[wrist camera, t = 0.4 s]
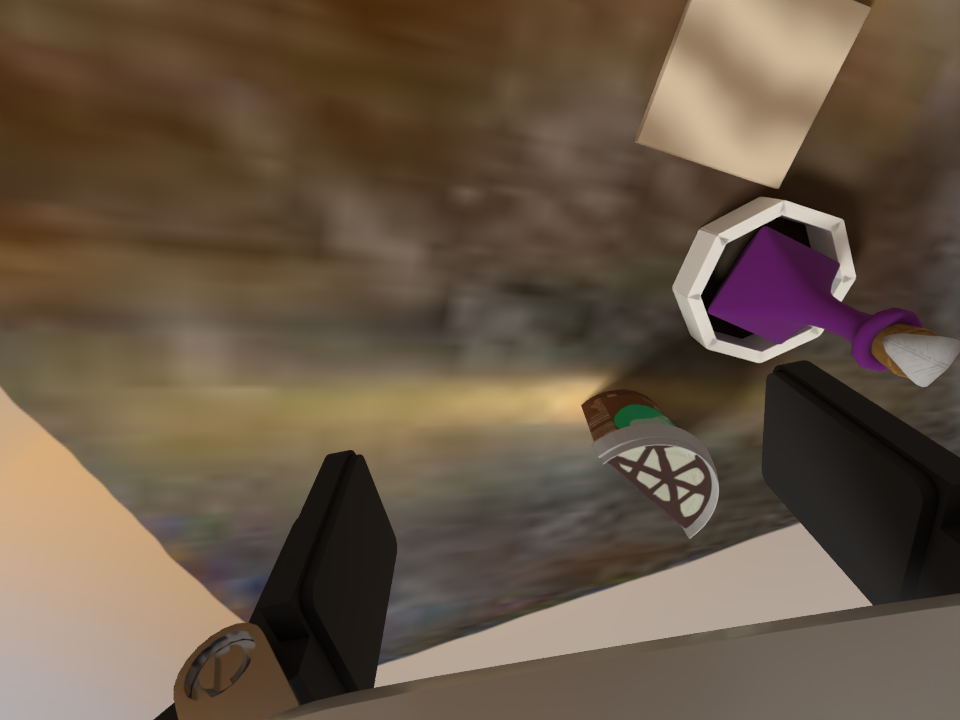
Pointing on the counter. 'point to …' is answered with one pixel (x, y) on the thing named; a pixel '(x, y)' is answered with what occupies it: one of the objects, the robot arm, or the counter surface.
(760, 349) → the holder ring
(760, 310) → the perfume bottle
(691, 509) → the food container
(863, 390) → the counter surface
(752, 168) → the coaster board
